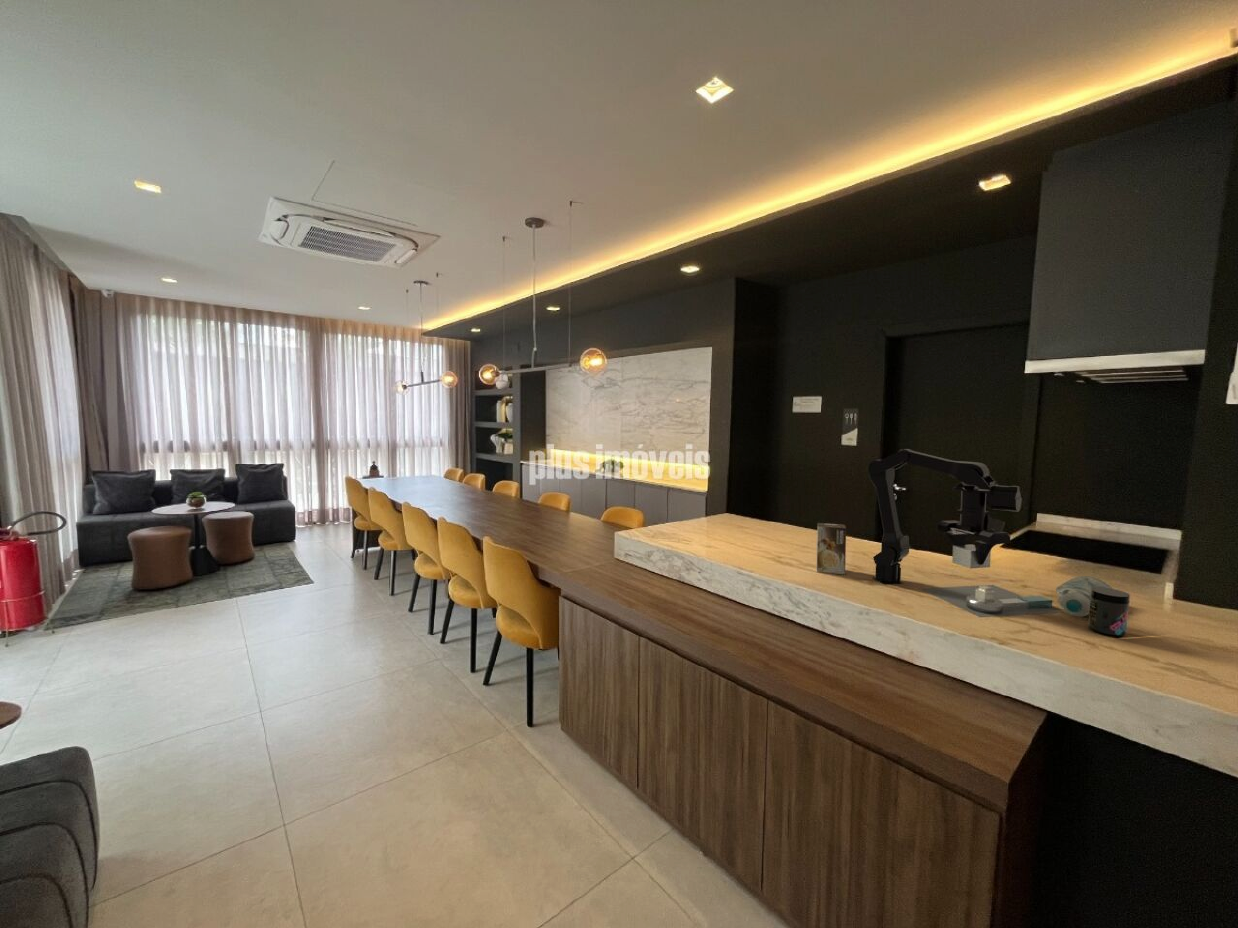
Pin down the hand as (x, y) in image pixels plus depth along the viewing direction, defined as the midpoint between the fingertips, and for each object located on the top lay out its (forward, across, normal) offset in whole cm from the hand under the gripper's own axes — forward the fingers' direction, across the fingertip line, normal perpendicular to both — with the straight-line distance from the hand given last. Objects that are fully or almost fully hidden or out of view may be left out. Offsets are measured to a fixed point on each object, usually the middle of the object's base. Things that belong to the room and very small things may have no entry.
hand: (970, 561), depth 140 cm
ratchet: (+12, -6, -6) cm, 15 cm away
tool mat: (+12, 0, -6) cm, 13 cm away
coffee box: (+11, +32, +23) cm, 41 cm away
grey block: (+1, 0, 0) cm, 1 cm away
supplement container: (+12, -23, -16) cm, 31 cm away
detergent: (+13, -9, -26) cm, 30 cm away
